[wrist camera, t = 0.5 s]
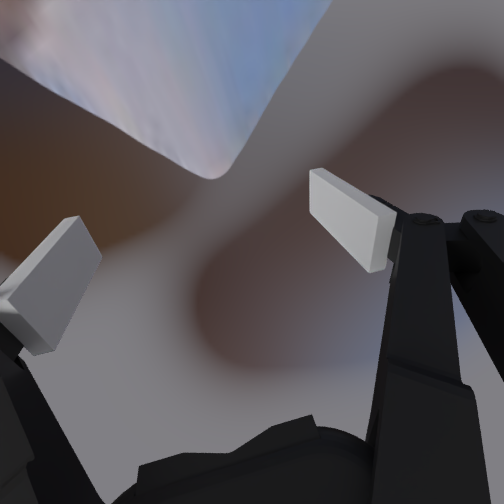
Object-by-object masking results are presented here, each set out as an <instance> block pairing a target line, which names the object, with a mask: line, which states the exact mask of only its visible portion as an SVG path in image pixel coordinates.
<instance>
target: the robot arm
mask: <svg viewBox="0 0 504 504" xmlns="http://www.w3.org/2000/svg"><path fill="white" fill-rule="evenodd" d="M310 213H311V214H312V215H313V216H314V217H315V218H316V219H317V220H318V221H319V222H320V223H321V224H322V225H323V226H324V227H325V229H327V231H328V232H329V233H330V234H331V235H332V236H333V237H334V238H335V239H336V240H337V241H338V242H339V243H340V244H341V245H342V246H343V247H344V248H345V249H346V250H347V251H348V252H349V253H350V254H351V255H352V256H353V257H354V258H355V259H356V260H357V261H358V262H359V263H360V264H361V265H362V267H363V268H364V269H365V270H366V271H367V272H368V273H372V272H376V271H380V270H384V269H385V267H386V263H387V258H389V259H390V260H391V261H392V262H393V263H394V265H393V269H392V274H391V278H390V282H389V283H390V288H389V295H388V302H387V309H386V315H385V322H384V328H383V335H382V341H381V348H380V354H379V361H378V368H377V374H376V382H375V388H374V394H373V401H372V408H371V414H370V419H369V424H368V429H367V434H366V440H365V441H363V440H362V439H360V438H358V437H356V436H354V435H352V434H350V433H347V432H345V431H342V430H338V429H335V428H329V427H320V426H318V427H317V426H316V424H315V422H314V419H313V416H312V415H308V416H304V417H301V418H298V419H294V420H291V421H288V422H284V423H281V424H278V425H274V426H271V427H270V428H268V429H267V430H265V431H264V432H262V433H261V434H259V435H258V436H256V437H254V438H253V439H251V440H250V441H249V442H247V443H245V444H244V445H242V446H241V447H239V448H238V449H236V450H235V451H233V452H230V453H181V454H177V455H174V456H171V457H168V458H164V459H161V460H157V461H154V462H151V463H147V464H144V465H141V466H139V469H138V470H139V471H138V478H137V483H135V484H134V485H132V486H131V487H130V488H129V489H127V490H126V491H125V492H123V493H122V494H121V495H120V496H119V497H118V498H117V499H116V500H115V501H114V502H113V503H112V504H491V500H490V493H489V486H488V480H487V472H486V465H485V459H484V453H483V445H482V438H481V431H480V424H479V418H478V410H477V405H476V399H475V395H474V392H473V390H472V388H471V387H470V386H468V385H465V384H463V383H462V381H461V375H460V366H459V357H458V348H457V339H456V330H455V320H454V311H453V302H452V293H451V285H452V287H453V289H454V290H455V292H456V294H457V296H458V297H459V300H460V302H461V303H462V305H463V307H464V309H465V310H466V313H467V315H468V316H469V318H470V320H471V322H472V324H473V325H474V328H475V329H476V331H477V333H478V335H479V337H480V339H481V340H482V343H483V344H484V346H485V348H486V350H487V352H488V354H489V356H490V357H491V359H492V361H493V363H494V365H495V367H496V368H497V370H498V372H499V374H500V376H501V378H502V380H503V382H504V215H502V214H499V213H496V212H495V211H491V210H490V211H489V210H470V211H467V212H465V213H464V215H463V217H462V220H461V222H460V223H444V222H443V220H442V219H440V218H439V217H437V216H434V215H431V214H425V213H414V214H408V213H406V212H404V211H403V210H401V209H399V208H397V207H396V206H393V205H392V204H390V203H389V202H387V201H385V200H383V199H382V198H380V197H376V196H373V195H367V194H365V193H363V192H362V191H360V190H358V189H357V188H355V187H353V186H352V185H350V184H348V183H347V182H345V181H343V180H342V179H340V178H338V177H337V176H335V175H333V174H332V173H330V172H328V171H327V170H325V169H323V168H318V169H313V170H310ZM101 259H102V255H101V253H100V252H99V250H98V248H97V246H96V244H95V243H94V241H93V239H92V238H91V236H90V234H89V232H88V230H87V229H86V227H85V225H84V223H83V221H82V220H81V218H80V216H75V217H70V218H65V219H64V220H63V221H62V222H61V223H60V224H59V225H58V226H57V227H56V228H55V229H54V230H53V231H52V232H51V233H50V235H48V236H47V237H46V239H45V240H44V241H43V242H42V243H41V244H40V245H39V246H38V247H37V248H36V249H35V250H34V251H33V252H32V253H31V254H30V255H29V256H28V258H26V260H25V261H24V262H23V263H22V264H21V265H20V266H19V267H18V268H17V269H16V270H15V271H14V272H13V273H12V274H11V275H10V276H9V277H8V278H6V279H5V280H4V281H3V282H2V284H1V285H0V504H105V503H104V502H103V501H102V499H101V498H100V497H99V495H98V493H97V492H96V490H95V488H94V486H93V484H92V483H91V481H90V479H89V477H88V475H87V474H86V472H85V470H84V468H83V466H82V465H81V463H80V461H79V459H78V457H77V456H76V454H75V452H74V450H73V448H72V447H71V445H70V443H69V441H68V439H67V437H66V436H65V434H64V432H63V430H62V428H61V427H60V425H59V423H58V421H57V419H56V418H55V416H54V414H53V412H52V411H51V409H50V407H49V405H48V403H47V401H46V400H45V398H44V396H43V394H42V392H41V390H40V389H39V387H38V385H37V383H36V382H35V380H34V378H33V376H32V374H31V372H30V371H29V369H28V367H27V365H26V363H25V362H24V361H23V360H22V359H21V358H20V357H19V356H18V354H19V353H20V351H21V350H22V348H23V347H25V348H26V349H27V350H28V351H29V352H30V353H31V354H32V355H33V356H36V355H39V354H44V353H48V352H52V351H55V349H56V347H57V345H58V343H59V341H60V339H61V337H62V335H63V333H64V331H65V329H66V327H67V326H68V324H69V322H70V320H71V318H72V316H73V314H74V312H75V310H76V308H77V306H78V304H79V302H80V300H81V298H82V296H83V294H84V292H85V290H86V288H87V286H88V284H89V283H90V281H91V279H92V277H93V274H94V273H95V271H96V269H97V267H98V265H99V263H100V261H101Z"/></svg>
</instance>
